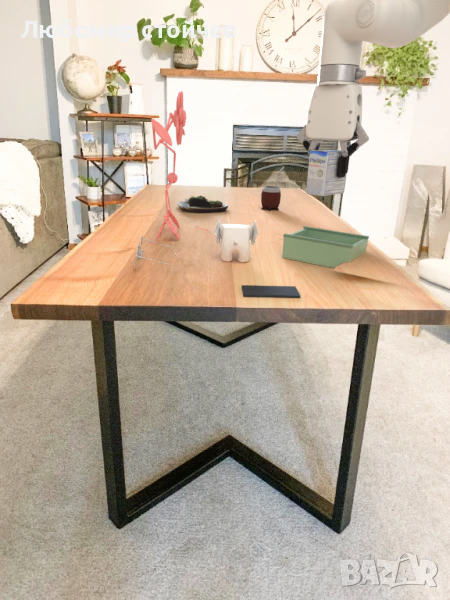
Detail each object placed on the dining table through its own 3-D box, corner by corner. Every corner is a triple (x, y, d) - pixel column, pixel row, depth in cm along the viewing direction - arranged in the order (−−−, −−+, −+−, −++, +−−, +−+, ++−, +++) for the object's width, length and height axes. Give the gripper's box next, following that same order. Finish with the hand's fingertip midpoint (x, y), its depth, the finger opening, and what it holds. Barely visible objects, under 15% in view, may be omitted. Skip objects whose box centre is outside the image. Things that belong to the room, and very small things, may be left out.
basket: (365, 259, 102) (369, 236, 100) (348, 271, 93) (351, 245, 91) (302, 247, 111) (305, 226, 109) (281, 257, 101) (283, 234, 99)
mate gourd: (259, 210, 159) (262, 166, 153) (261, 206, 166) (263, 165, 160) (280, 211, 158) (284, 167, 152) (281, 208, 165) (284, 166, 160)
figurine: (148, 247, 106) (144, 85, 93) (160, 224, 130) (157, 93, 117) (213, 248, 107) (216, 88, 94) (212, 226, 131) (215, 96, 118)
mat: (295, 288, 82) (295, 286, 82) (300, 298, 78) (300, 295, 77) (241, 287, 82) (241, 285, 82) (243, 296, 77) (243, 294, 77)
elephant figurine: (254, 251, 106) (257, 214, 102) (257, 266, 94) (259, 225, 91) (214, 249, 106) (216, 212, 102) (212, 264, 94) (213, 223, 91)
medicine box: (326, 191, 97) (331, 149, 93) (344, 193, 94) (350, 150, 90) (305, 194, 91) (309, 149, 88) (323, 196, 88) (328, 151, 85)
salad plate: (166, 204, 163) (166, 192, 161) (210, 202, 170) (210, 190, 169) (186, 214, 147) (186, 200, 145) (233, 211, 154) (234, 198, 153)
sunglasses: (139, 254, 99) (142, 233, 98) (176, 260, 101) (179, 239, 99) (132, 273, 87) (135, 249, 85) (175, 280, 88) (179, 256, 86)
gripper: (388, 78, 83) (374, 178, 90) (305, 81, 92) (297, 172, 99) (376, 73, 77) (361, 180, 84) (288, 77, 86) (281, 174, 93)
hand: (327, 175), depth 91 cm, fingers closed on medicine box, 5 cm apart
